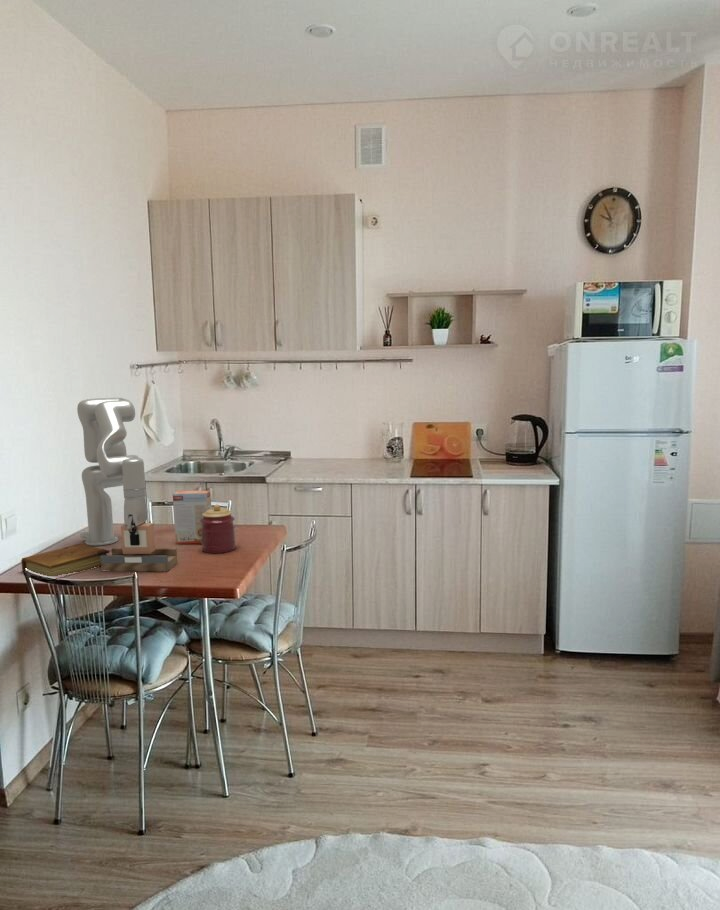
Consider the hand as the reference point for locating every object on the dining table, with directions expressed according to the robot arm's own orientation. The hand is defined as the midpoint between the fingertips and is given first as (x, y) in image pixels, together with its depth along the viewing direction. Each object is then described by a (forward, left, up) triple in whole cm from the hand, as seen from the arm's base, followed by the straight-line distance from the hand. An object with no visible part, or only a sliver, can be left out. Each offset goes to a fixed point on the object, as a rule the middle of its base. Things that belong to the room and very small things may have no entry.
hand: (138, 542), depth 257 cm
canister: (+22, +24, -9) cm, 34 cm away
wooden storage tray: (0, 0, -9) cm, 9 cm away
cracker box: (+9, +34, -9) cm, 36 cm away
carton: (0, 0, -3) cm, 3 cm away
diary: (-27, -1, -10) cm, 29 cm away
